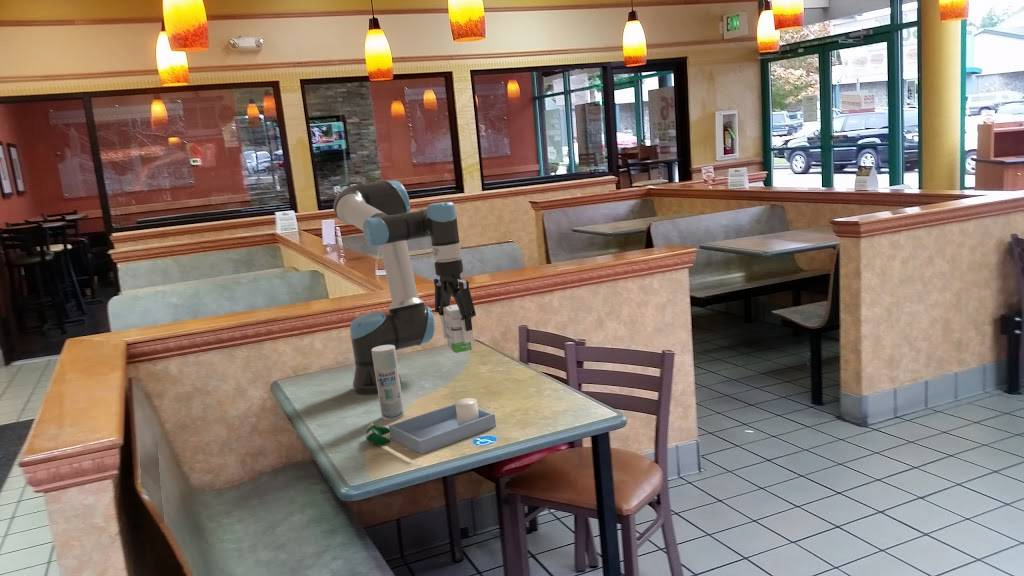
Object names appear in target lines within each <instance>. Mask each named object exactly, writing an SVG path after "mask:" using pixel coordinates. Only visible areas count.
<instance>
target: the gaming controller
mask: <svg viewBox="0 0 1024 576" xmlns="http://www.w3.org/2000/svg"><path fill="white" fill-rule="evenodd" d="M366 429H367V430H366V431H365V433H366V434H365V439H366V440H367V441H368V442H369V443H371V444H373V445H377V446H382V447H384V446H385V447H386V446H388V444H389V443H391V439H388V438H387V437H385V436H382V435H386V434H390V430H389V427H386V426H379V425H376V424H375V423H373V422H371V423H370V424H369V425H368V426H367V428H366Z"/></svg>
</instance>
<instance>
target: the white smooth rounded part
mask: <svg viewBox="0 0 1024 576" xmlns="http://www.w3.org/2000/svg"><path fill="white" fill-rule="evenodd" d="M454 404H455V406H456V414H457V422H458V426H460V425H463V424H465V423H468V422H471V421H474V420H477V419H479V414H478V408H479V406H478V399H476V398H473V397H465V398H460V399H459V400H457V401H455V402H454Z"/></svg>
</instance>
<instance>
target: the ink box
mask: <svg viewBox="0 0 1024 576" xmlns="http://www.w3.org/2000/svg"><path fill="white" fill-rule="evenodd" d="M443 311H444V318H445V326H446V333H447V338H446V341H447V347H448V348H449V349H450V350H451V351H453V353H456V354H457V353H462V352H468V351H472V342H468V343H464V340H463V332H462V325H461V318H462V315H461V313H460V311H459V308H458V306H457V304H451V305H449V306H445V307H443ZM465 315H466V314H465Z"/></svg>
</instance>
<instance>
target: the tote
mask: <svg viewBox="0 0 1024 576" xmlns="http://www.w3.org/2000/svg"><path fill="white" fill-rule="evenodd" d="M478 414H479V419H477V420H474V421H471V422H468V423H465V424H463V425H460V426H458V422H457V414H456V406H455V403H452V404H450V405H447V406H443V407H441V408H438V409H434V410H432V411H429V412H426V413H424V414H420V415H416V416H415V417H414V416H413V417H412V418H408V419H405V420H402V421H400V422H396V423H393V424H390V425H388V428H389V430H390V432H389V436H390V440H393V441H395V442H397V443H399V444H401V445H403V446H405V447H407V448H409V449H410V450H412V451H414V452H416V453H418V454H420V455H423V454H426V453H429V452H431V451H434V450H436V449H439V448H442V447H444V446H448V445H450V444H454V443H455V442H456V443H457V442H459V441H461V440H464V439H466V438H469V437H472V436H475V435H477V434H480V433H483V432H486V431H488V430H491V429H493V428H496V427H497V422H496V416H495V413H492V412H490V411H487V410H484V409H482V408H479V407H478Z"/></svg>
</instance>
